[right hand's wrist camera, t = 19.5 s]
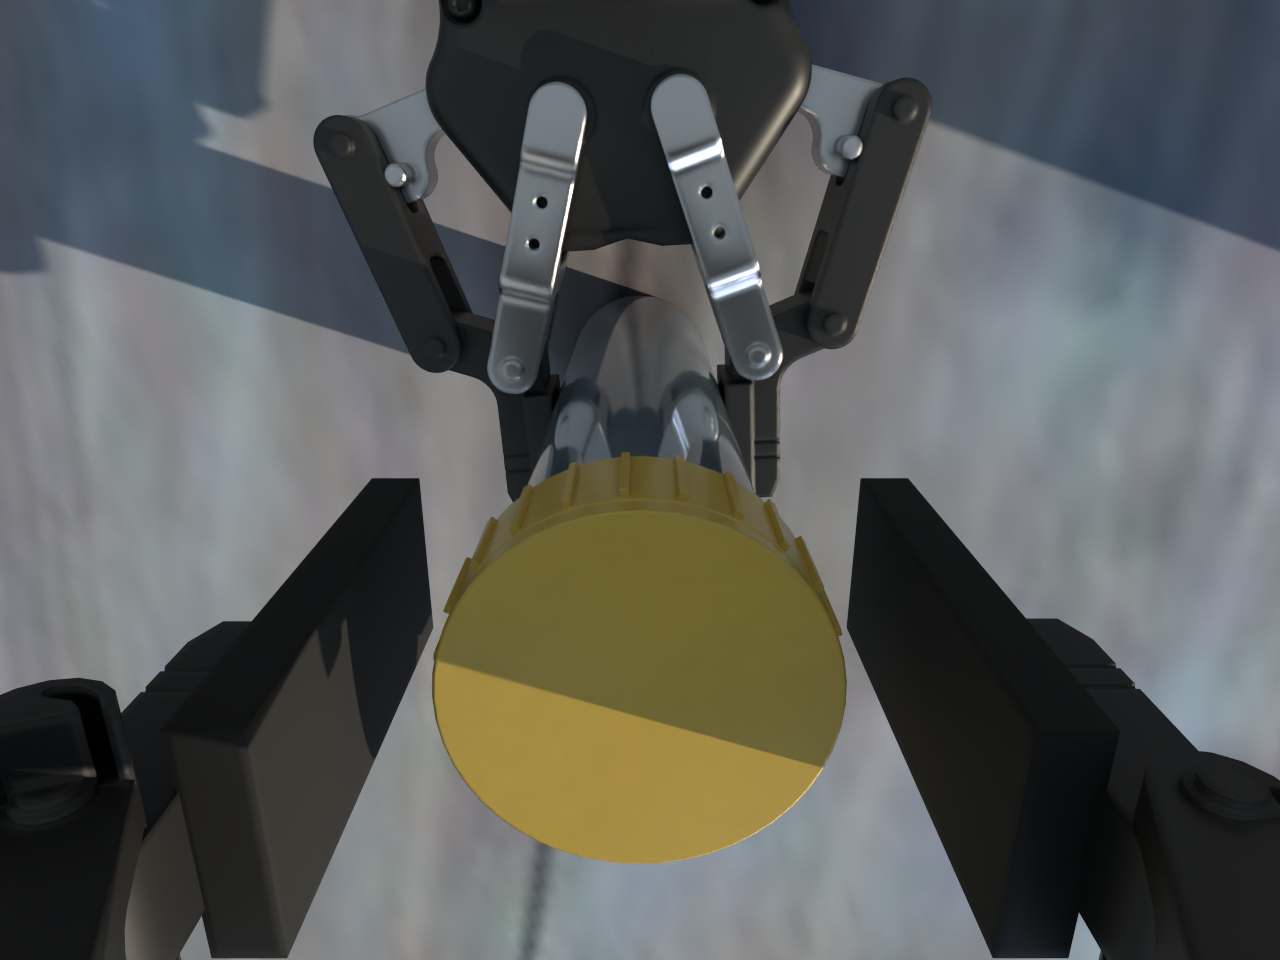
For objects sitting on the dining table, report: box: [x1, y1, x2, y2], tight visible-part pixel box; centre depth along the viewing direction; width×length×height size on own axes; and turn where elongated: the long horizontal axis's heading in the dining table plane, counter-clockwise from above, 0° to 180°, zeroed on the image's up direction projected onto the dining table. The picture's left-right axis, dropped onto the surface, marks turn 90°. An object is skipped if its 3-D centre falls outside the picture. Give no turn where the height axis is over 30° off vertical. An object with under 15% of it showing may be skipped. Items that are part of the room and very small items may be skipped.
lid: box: [432, 452, 847, 864], centre depth 11 cm, size 5×5×2 cm
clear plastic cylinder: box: [527, 296, 755, 494], centre depth 20 cm, size 4×4×18 cm
